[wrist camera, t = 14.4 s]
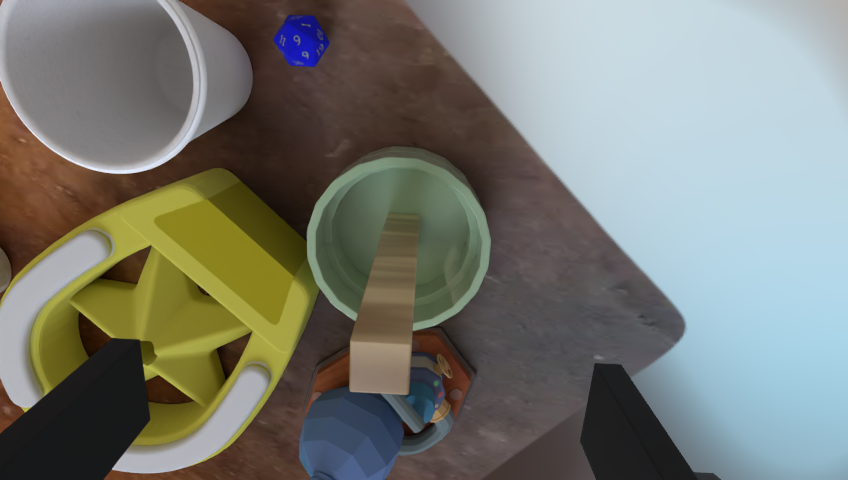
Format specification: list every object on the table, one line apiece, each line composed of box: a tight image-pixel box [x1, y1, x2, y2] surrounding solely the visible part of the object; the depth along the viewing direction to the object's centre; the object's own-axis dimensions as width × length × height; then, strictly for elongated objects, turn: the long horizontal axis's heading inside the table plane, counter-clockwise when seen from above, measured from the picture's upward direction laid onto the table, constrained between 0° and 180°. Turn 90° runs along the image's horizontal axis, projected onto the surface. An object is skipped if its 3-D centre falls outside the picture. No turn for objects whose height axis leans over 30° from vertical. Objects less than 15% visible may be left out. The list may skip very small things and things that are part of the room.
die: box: [273, 15, 330, 67], centre depth 28 cm, size 3×3×3 cm
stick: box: [349, 213, 420, 395], centre depth 24 cm, size 2×2×16 cm
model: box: [299, 327, 476, 480], centre depth 32 cm, size 12×9×9 cm
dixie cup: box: [0, 0, 253, 174], centre depth 25 cm, size 8×8×10 cm
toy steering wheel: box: [0, 168, 320, 473], centre depth 32 cm, size 16×21×5 cm
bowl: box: [307, 146, 491, 331], centre depth 30 cm, size 10×10×5 cm
